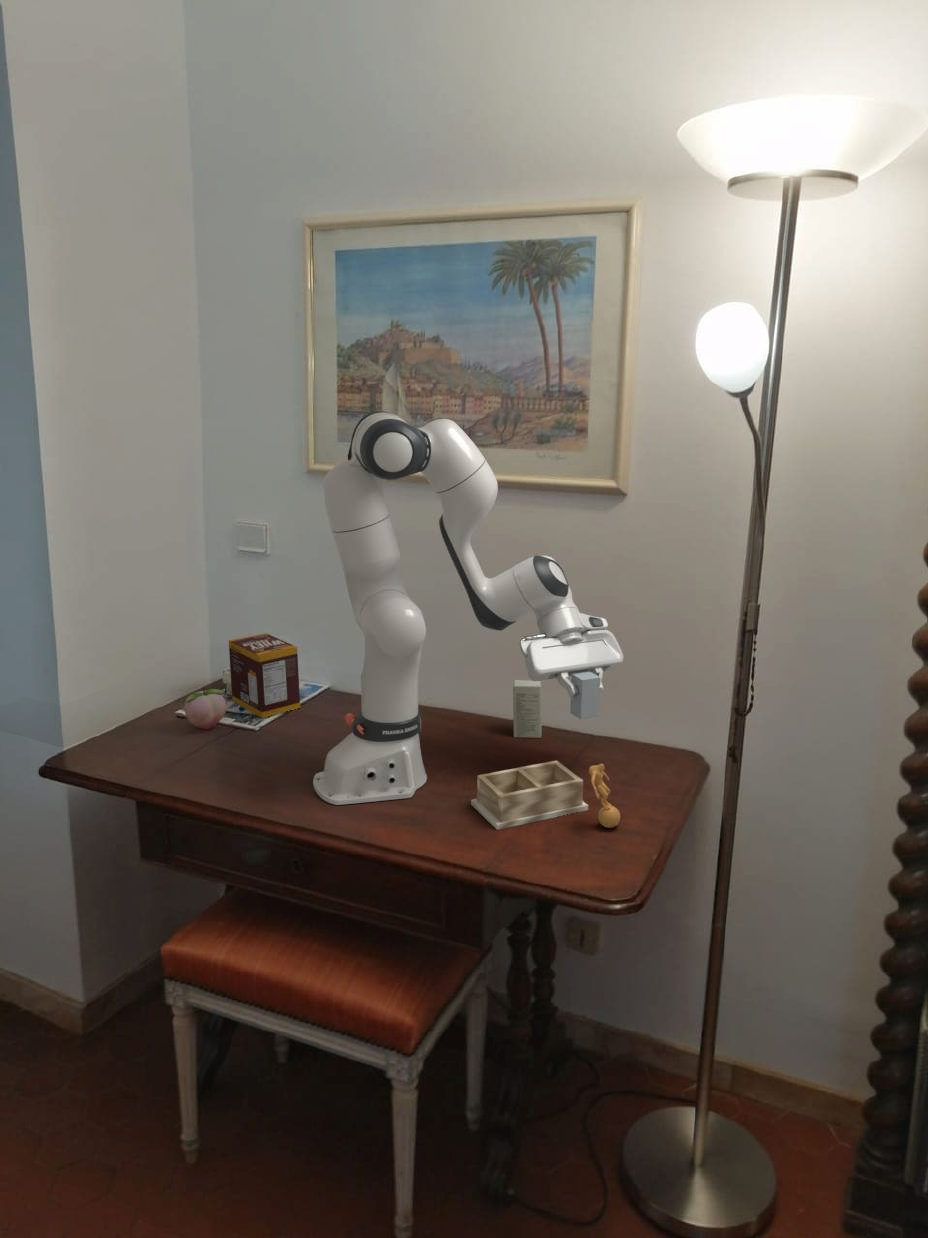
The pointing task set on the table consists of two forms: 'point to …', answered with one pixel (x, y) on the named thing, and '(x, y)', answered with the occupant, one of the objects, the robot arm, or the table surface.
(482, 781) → the wooden divided tray
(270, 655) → the supplement box
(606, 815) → the figurine
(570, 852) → the table surface
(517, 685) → the skincare box
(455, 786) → the table surface
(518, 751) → the table surface
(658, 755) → the table surface
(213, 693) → the decorative fruit
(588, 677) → the grey peg
